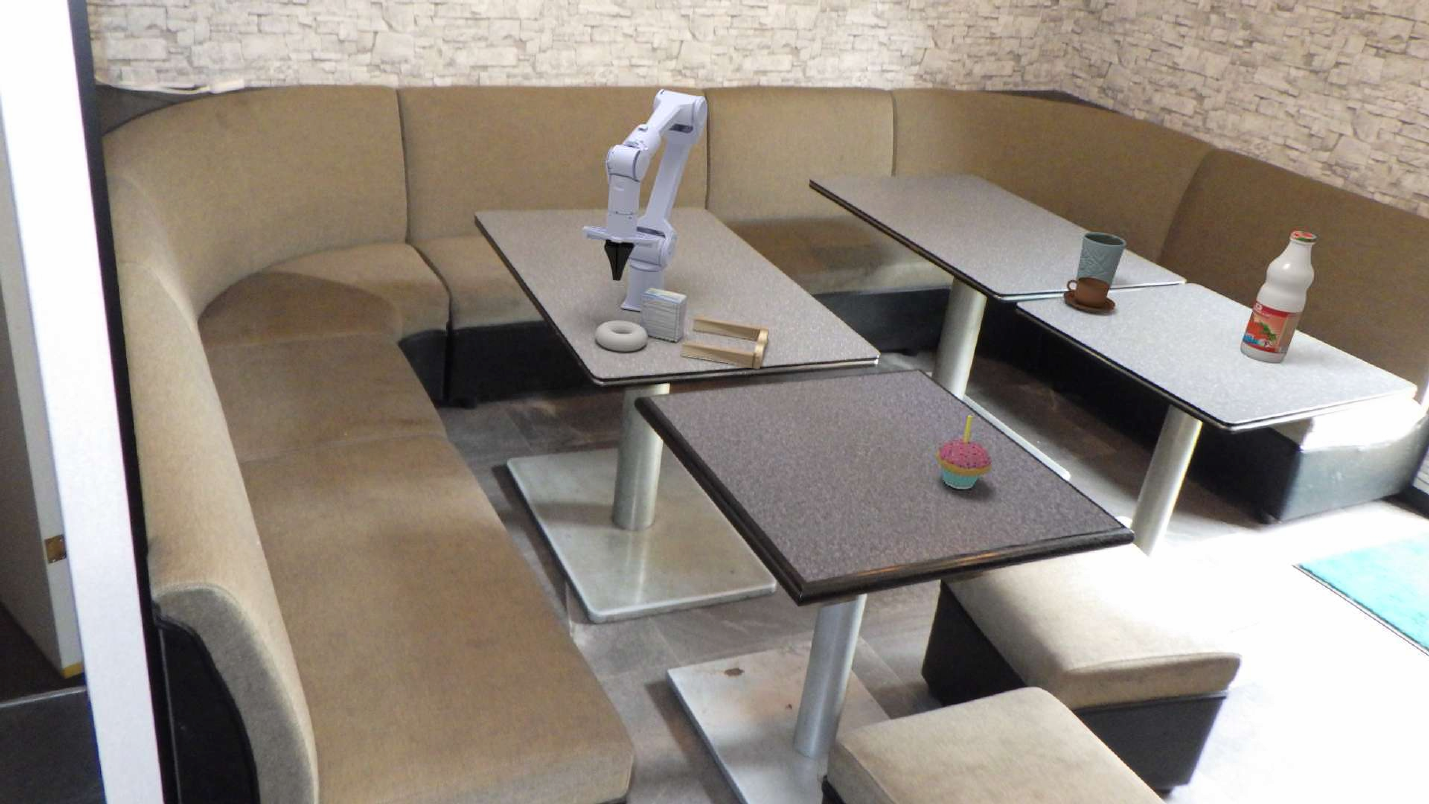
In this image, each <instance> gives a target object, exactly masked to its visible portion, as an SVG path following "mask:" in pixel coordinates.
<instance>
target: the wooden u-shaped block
mask: <svg viewBox="0 0 1429 804" xmlns="http://www.w3.org/2000/svg"><path fill="white" fill-rule="evenodd" d="M693 330H695V332H699V331H700V332H702V333H705V332H708V333H707V334H711V333H714V334H713V335H718V334H719V336H724V335H727V336H726V337H730V336H732V338H736V337H737V338H738V339H742V338H746V339H745V340H748V339H751V340H750V341H754V340H756V341H755V342H756V344H755V348H754V350H753V352H752V351H746V350H741V349H733V348H729V347H728V348H727V347H723V346H722V347H721V346H715V345H709V344H701V343H696V342H691V341H685V340H683V341H682V344H681V353H680V356H681V355H686V356H693V357H697V358H707V359H711V360H714V361H723V362H725V363H728V364H727V365H731V364H734V365H733V366H737V365H739V366H738V367H745V368H751V369H755V370H756V369H757V370H760V367H761V364H762V360H763V357H764V355H765V354H764V353H765V350H766V347H767V344H766V343H768V339H769V333H770V328H769V327H763V326H758V325H757V326H756V325H751V324H745V323H739V322H733V321H726V320H721V319H714V318H709V317H701V316H697V315H696V316H694V319H693V326H692V331H693ZM725 363H724V364H725Z"/></svg>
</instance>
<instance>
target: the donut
mask: <svg viewBox="0 0 1429 804" xmlns="http://www.w3.org/2000/svg"><path fill="white" fill-rule="evenodd" d="M594 334H595V339H596V341H597V343H598V344H599V345H600V346H602V347H603V348H605V349H607V350H610V351H615V352H625V353H626V352H634V351H637V350H640V349H642V348H643V347H644V346H645V345H646V344H647V340H648V339H649V338H648V337H649V336H648V335H647V333H646V331H645V329H644V328H643V327H641V326H640V324H638V323H635V322H634V321H629V320H623V319H622V320H620V319H619V320H609V321H605V322H603V323H601V324H600V325H598V327H597V328H596V331H595V333H594Z"/></svg>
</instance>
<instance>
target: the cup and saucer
mask: <svg viewBox="0 0 1429 804" xmlns="http://www.w3.org/2000/svg"><path fill="white" fill-rule="evenodd" d="M1071 283H1075V285H1076V286H1075V289H1072V288H1071V286H1070V285H1071ZM1109 288H1111V287H1110V285H1109V284H1108V283H1107V282H1105V281H1103V280H1100V279H1096V278H1091V277H1081V278H1079V279H1078V281H1077V280H1076V279H1069V280H1068V281H1067V283H1066V289H1067V290H1066V291H1065V292H1063V295H1062V296H1063V299H1064V301H1065V302H1066V303H1067V304H1069V305H1071V306H1072V307H1074V308H1077V309H1078V310H1081V311H1082V310H1083V311H1085V312H1091V313H1106V312H1111V311H1112V310H1114V309H1115V307H1116V303H1115V301H1114V300H1113V299H1111V298H1109V297H1108V294H1109V292H1110V291H1109V290H1110V289H1109Z"/></svg>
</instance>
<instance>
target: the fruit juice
mask: <svg viewBox="0 0 1429 804" xmlns="http://www.w3.org/2000/svg"><path fill="white" fill-rule="evenodd" d="M1316 242H1317V236H1316V235H1315V234H1312V233H1311V232H1307V231H1301V230H1293V231H1292V232H1291V233H1290V237H1289V244H1288V245H1287V247H1286V248H1285V249H1284V251H1283V252H1282V253H1281V254H1280V255H1279V256H1278V257H1276V258H1275V259H1274V260H1273V261H1271V262H1270V263H1269V265H1268V267H1267V270H1266V280H1265V282H1264V284H1263V285H1262V286H1261V287H1260V289H1259V291H1258V294H1257V296H1256V300H1255V302H1254V304H1253V305H1254V306H1253V308H1252V310H1251V314H1250V316H1249V319H1248V323H1247V325H1246V328H1245V330H1244V333H1243V337H1242V340H1241V342H1240V345H1239V346H1240V348H1239V349H1240V352H1242V353H1243V354H1244V355H1245V356H1247V357H1249V358H1252V359H1253V360H1258V361H1261V362H1265V363H1269V364H1270V363H1272V364H1277V363H1282V362H1283V361H1284V360H1285V359H1286V356H1287V353H1288V351H1289V349H1290V345H1291V343H1292V340H1293V338H1294V335H1295V332H1296V329H1297V328H1298V327H1297V326H1298V324H1299V321H1300V318H1301V316H1302V313H1303V310H1304V308H1305V305H1306V300H1307V290H1309V287H1310V286H1311V285H1312V283H1313V281H1314V279H1315V278H1314V277H1315V271H1314V268H1313V265H1312V262H1311V261H1312V259H1311V256H1312V247H1313V246H1314V245H1315V243H1316Z"/></svg>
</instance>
